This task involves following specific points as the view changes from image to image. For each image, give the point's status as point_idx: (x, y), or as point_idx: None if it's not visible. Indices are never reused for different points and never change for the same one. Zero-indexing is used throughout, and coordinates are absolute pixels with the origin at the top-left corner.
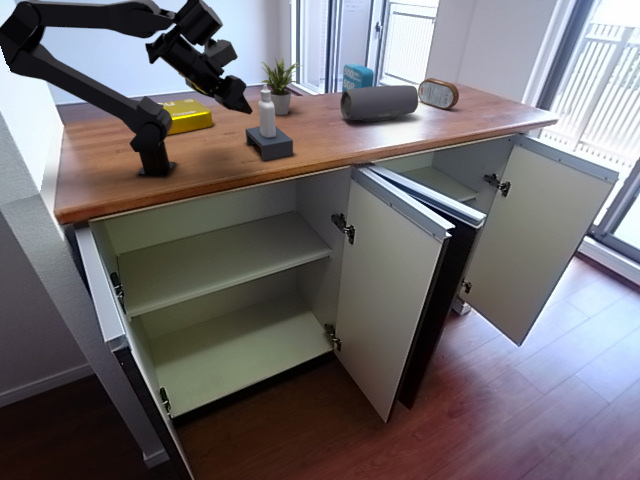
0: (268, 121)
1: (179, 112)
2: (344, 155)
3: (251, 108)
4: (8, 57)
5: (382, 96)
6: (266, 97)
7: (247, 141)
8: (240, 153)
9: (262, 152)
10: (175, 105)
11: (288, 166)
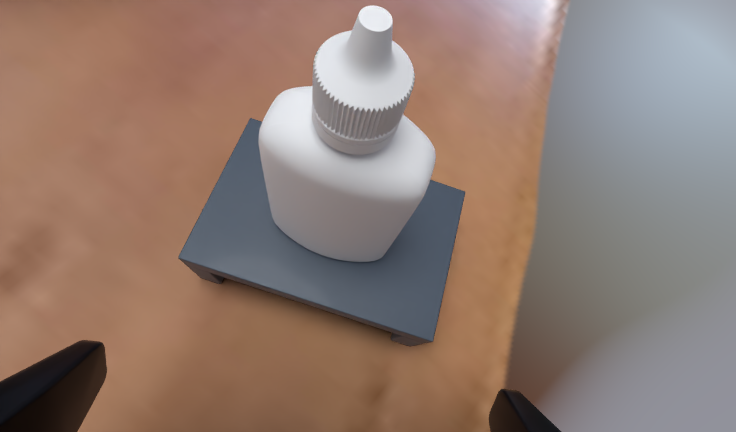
0: (404, 225)
1: None
2: (543, 103)
3: (540, 412)
4: None
5: None
6: (396, 122)
7: (211, 279)
8: (268, 377)
9: (412, 342)
10: None
11: (509, 301)
